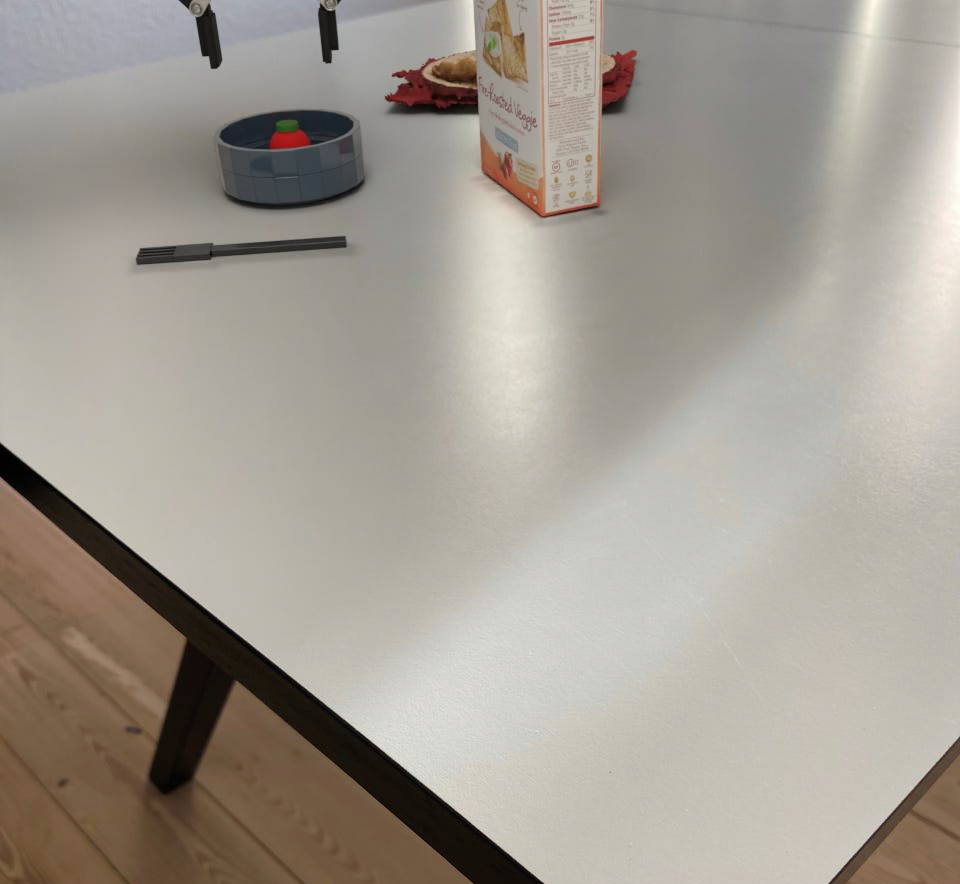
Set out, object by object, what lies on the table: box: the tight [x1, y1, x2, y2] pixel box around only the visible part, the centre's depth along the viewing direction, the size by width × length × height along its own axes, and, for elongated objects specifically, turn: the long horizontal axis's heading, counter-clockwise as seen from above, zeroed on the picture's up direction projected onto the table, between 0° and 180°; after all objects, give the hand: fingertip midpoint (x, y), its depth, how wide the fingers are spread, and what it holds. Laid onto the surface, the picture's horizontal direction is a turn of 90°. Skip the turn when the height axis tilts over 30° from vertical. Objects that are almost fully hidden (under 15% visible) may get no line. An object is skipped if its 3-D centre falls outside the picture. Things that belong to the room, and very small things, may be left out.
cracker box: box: [472, 0, 605, 217], centre depth 94 cm, size 14×6×21 cm, turn 22°
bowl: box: [212, 108, 366, 206], centre depth 103 cm, size 13×13×5 cm
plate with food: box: [384, 49, 638, 110], centre depth 127 cm, size 24×26×4 cm
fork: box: [135, 235, 347, 265], centre depth 92 cm, size 2×17×1 cm, turn 95°
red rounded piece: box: [270, 120, 311, 150], centre depth 102 cm, size 4×4×5 cm
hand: (272, 62), depth 97 cm, fingers open, 9 cm apart
